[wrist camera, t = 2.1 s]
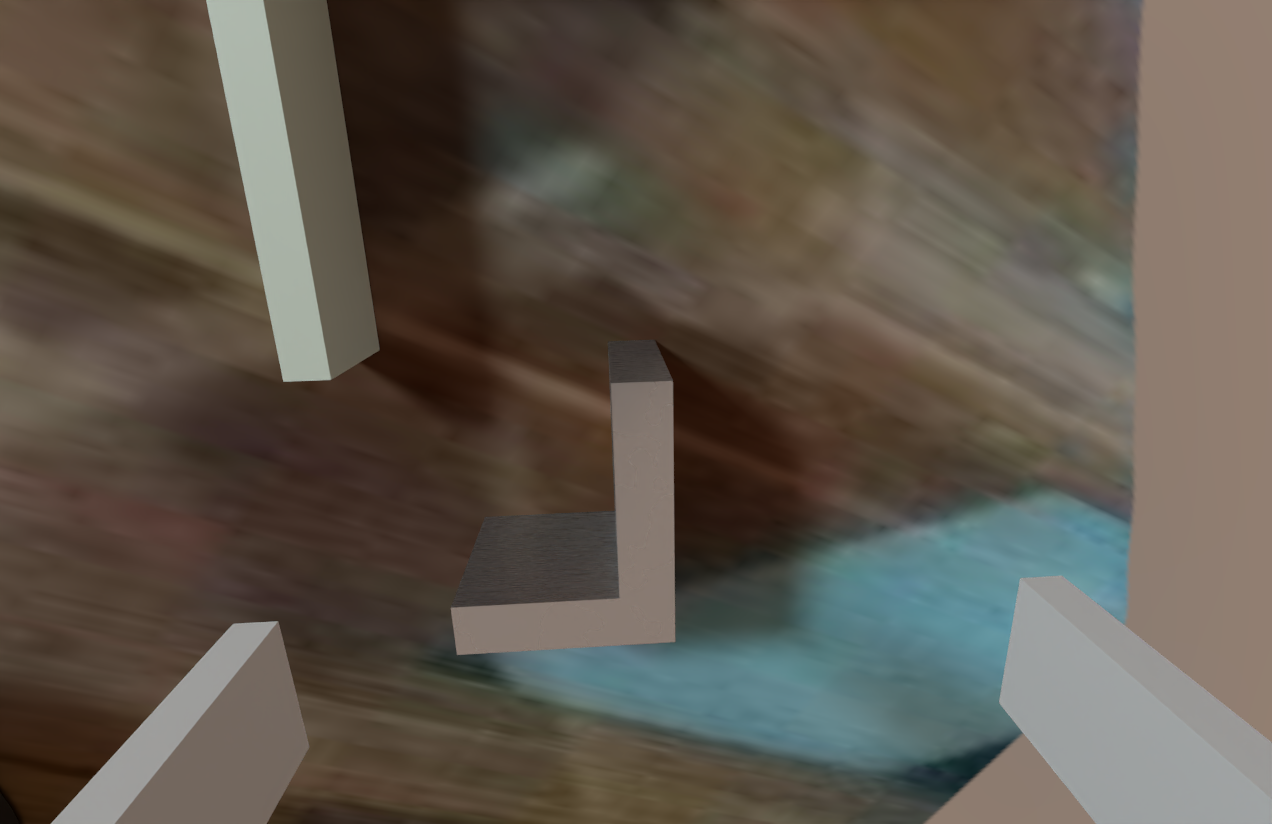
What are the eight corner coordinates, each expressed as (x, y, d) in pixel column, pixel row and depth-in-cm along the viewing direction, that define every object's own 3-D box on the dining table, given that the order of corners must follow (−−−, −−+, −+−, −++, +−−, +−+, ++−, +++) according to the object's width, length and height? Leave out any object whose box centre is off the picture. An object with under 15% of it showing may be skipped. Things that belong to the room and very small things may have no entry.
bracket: (658, 546, 30) (675, 641, 23) (489, 555, 29) (457, 655, 23) (654, 339, 27) (673, 381, 20) (466, 346, 26) (421, 390, 20)
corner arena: (838, 333, 27) (888, 358, 22) (340, 351, 26) (283, 381, 21) (874, -180, 22) (952, -291, 17) (249, -180, 21) (146, -298, 16)
